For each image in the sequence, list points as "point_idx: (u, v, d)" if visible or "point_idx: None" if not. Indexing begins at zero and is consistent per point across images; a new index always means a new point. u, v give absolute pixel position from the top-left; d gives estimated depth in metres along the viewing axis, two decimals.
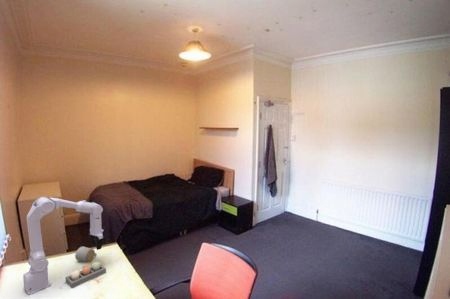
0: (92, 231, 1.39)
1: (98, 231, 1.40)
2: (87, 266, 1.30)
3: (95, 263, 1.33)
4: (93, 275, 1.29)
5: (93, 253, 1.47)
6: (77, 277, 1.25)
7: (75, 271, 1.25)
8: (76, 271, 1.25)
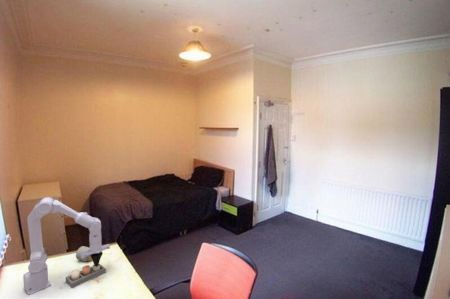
0: None
1: (90, 249, 1.31)
2: (87, 266, 1.30)
3: None
4: (93, 275, 1.29)
5: None
6: (77, 277, 1.25)
7: (75, 271, 1.25)
8: (76, 271, 1.25)
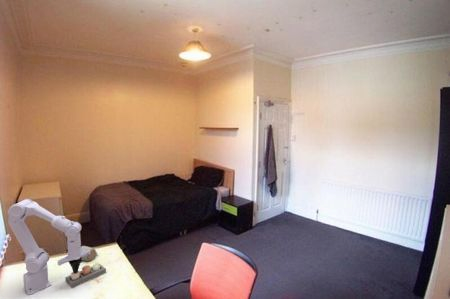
0: None
1: (68, 256, 1.22)
2: (87, 266, 1.30)
3: (95, 266, 1.33)
4: (93, 275, 1.29)
5: (94, 252, 1.48)
6: (77, 278, 1.25)
7: None
8: None
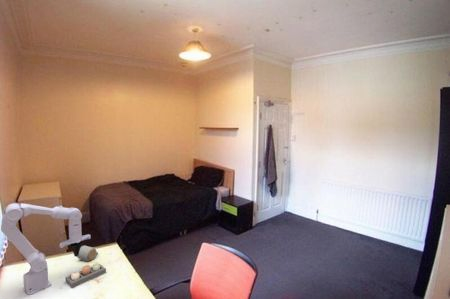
0: None
1: (70, 239, 1.29)
2: (87, 266, 1.30)
3: (95, 266, 1.33)
4: (93, 275, 1.29)
5: (95, 252, 1.49)
6: None
7: (75, 274, 1.26)
8: (76, 274, 1.25)
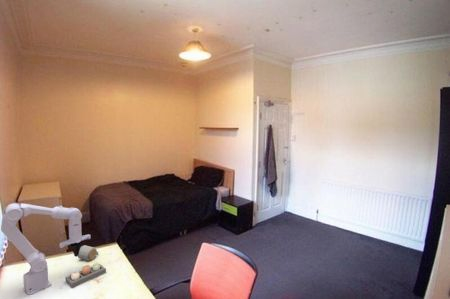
0: None
1: (70, 239, 1.29)
2: (87, 266, 1.30)
3: (95, 266, 1.33)
4: (93, 275, 1.29)
5: (95, 252, 1.49)
6: None
7: (75, 274, 1.26)
8: (76, 274, 1.25)
